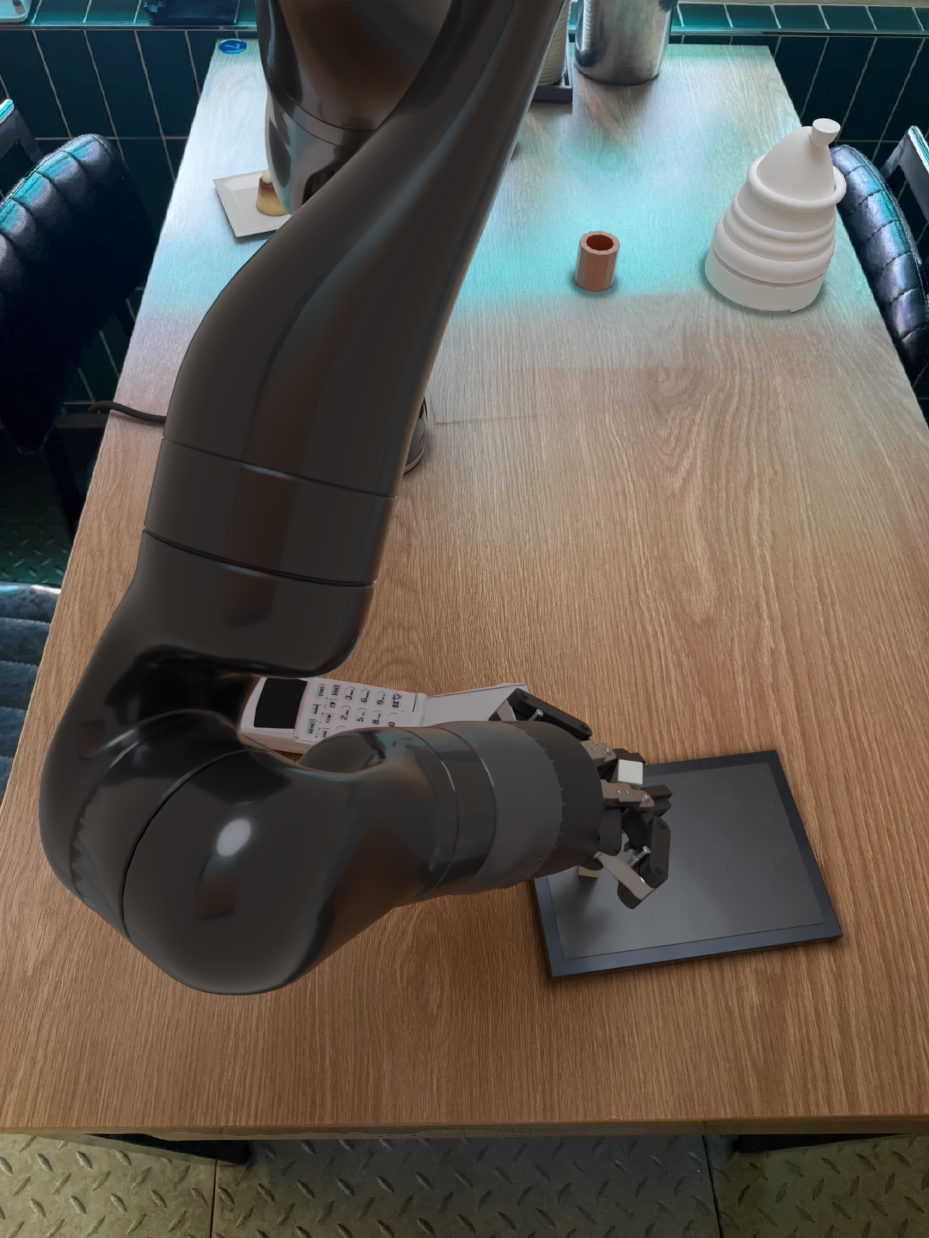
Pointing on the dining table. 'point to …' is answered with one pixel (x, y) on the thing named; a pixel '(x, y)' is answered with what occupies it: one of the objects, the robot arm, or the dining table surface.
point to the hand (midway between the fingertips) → (644, 783)
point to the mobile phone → (353, 709)
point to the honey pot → (780, 224)
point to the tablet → (698, 879)
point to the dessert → (251, 203)
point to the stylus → (622, 774)
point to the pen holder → (596, 260)
